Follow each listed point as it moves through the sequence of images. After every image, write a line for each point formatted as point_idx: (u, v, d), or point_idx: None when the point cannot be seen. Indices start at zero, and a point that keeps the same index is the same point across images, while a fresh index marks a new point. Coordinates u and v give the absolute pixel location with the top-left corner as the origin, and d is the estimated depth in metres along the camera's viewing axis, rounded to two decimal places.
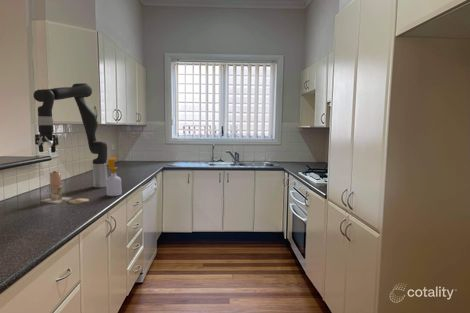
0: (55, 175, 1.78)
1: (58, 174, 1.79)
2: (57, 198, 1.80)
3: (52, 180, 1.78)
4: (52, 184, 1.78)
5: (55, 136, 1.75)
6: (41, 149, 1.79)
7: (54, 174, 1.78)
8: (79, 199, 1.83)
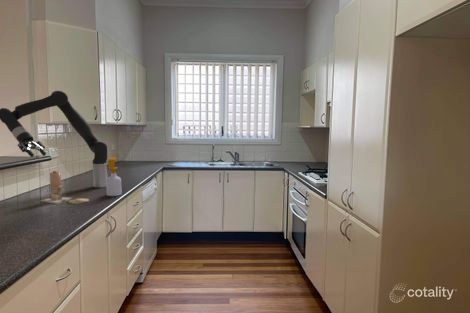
0: (55, 175, 1.78)
1: (58, 174, 1.79)
2: (57, 198, 1.80)
3: (52, 180, 1.78)
4: (52, 184, 1.78)
5: (18, 145, 1.76)
6: (42, 153, 1.86)
7: (54, 174, 1.78)
8: (79, 199, 1.83)
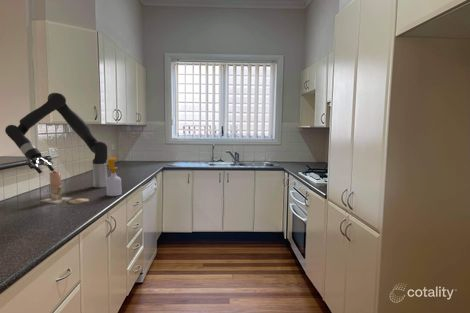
0: (55, 175, 1.78)
1: (58, 174, 1.79)
2: (57, 198, 1.80)
3: (52, 180, 1.78)
4: (52, 184, 1.78)
5: (26, 161, 1.76)
6: (50, 168, 1.86)
7: (54, 174, 1.78)
8: (79, 199, 1.83)
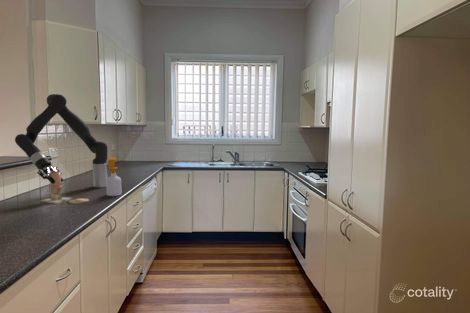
0: (55, 175, 1.78)
1: (58, 174, 1.79)
2: (57, 198, 1.80)
3: None
4: (52, 184, 1.78)
5: (38, 172, 1.75)
6: None
7: (54, 174, 1.78)
8: (79, 199, 1.83)
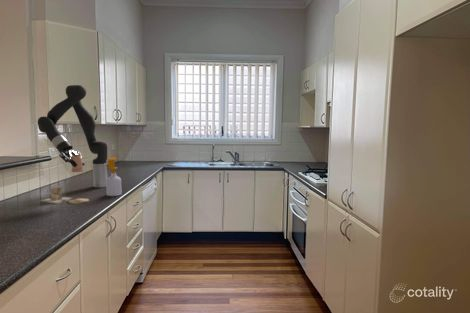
0: (77, 158, 1.76)
1: (80, 157, 1.77)
2: (57, 198, 1.80)
3: None
4: (74, 167, 1.76)
5: (60, 155, 1.73)
6: None
7: (76, 157, 1.75)
8: (79, 199, 1.83)
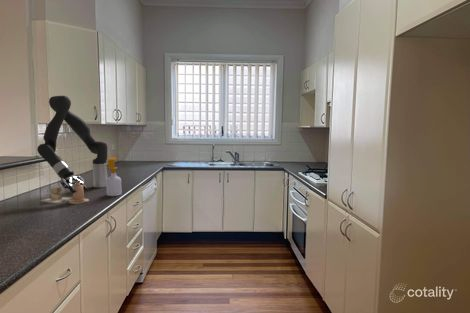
0: (78, 188, 1.78)
1: (81, 187, 1.79)
2: (57, 198, 1.80)
3: (75, 193, 1.77)
4: (75, 197, 1.78)
5: (60, 181, 1.74)
6: (83, 187, 1.84)
7: (77, 187, 1.77)
8: None
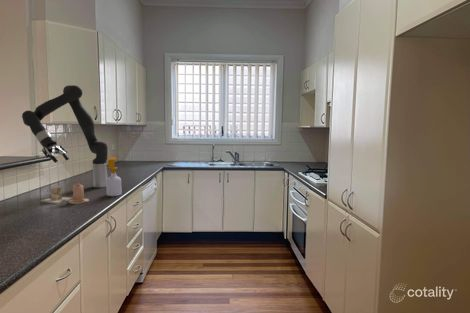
0: (78, 188, 1.78)
1: (81, 187, 1.79)
2: (57, 198, 1.80)
3: (75, 193, 1.77)
4: (75, 197, 1.78)
5: (42, 150, 1.76)
6: (65, 157, 1.86)
7: (77, 187, 1.77)
8: None
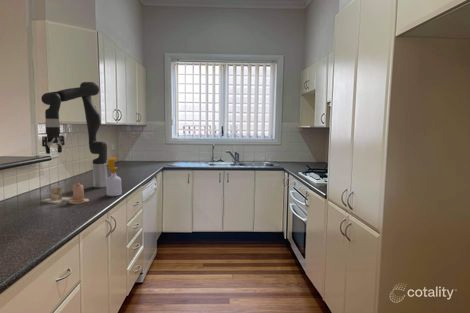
0: (78, 188, 1.78)
1: (81, 187, 1.79)
2: (57, 198, 1.80)
3: (75, 193, 1.77)
4: (75, 197, 1.78)
5: (43, 138, 1.78)
6: (58, 150, 1.89)
7: (77, 187, 1.77)
8: None
